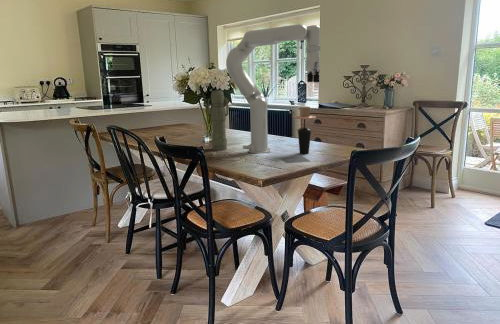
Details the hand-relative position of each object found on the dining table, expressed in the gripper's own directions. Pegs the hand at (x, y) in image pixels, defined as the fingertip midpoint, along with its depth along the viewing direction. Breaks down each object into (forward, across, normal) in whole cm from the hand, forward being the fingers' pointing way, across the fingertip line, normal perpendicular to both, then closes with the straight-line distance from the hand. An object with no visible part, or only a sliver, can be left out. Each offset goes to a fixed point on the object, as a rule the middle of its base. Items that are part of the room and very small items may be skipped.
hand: (313, 82), depth 208 cm
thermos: (+38, -20, -51) cm, 67 cm away
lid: (+18, +7, -7) cm, 21 cm away
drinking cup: (+39, +7, -8) cm, 40 cm away
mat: (+38, +20, -17) cm, 47 cm away
